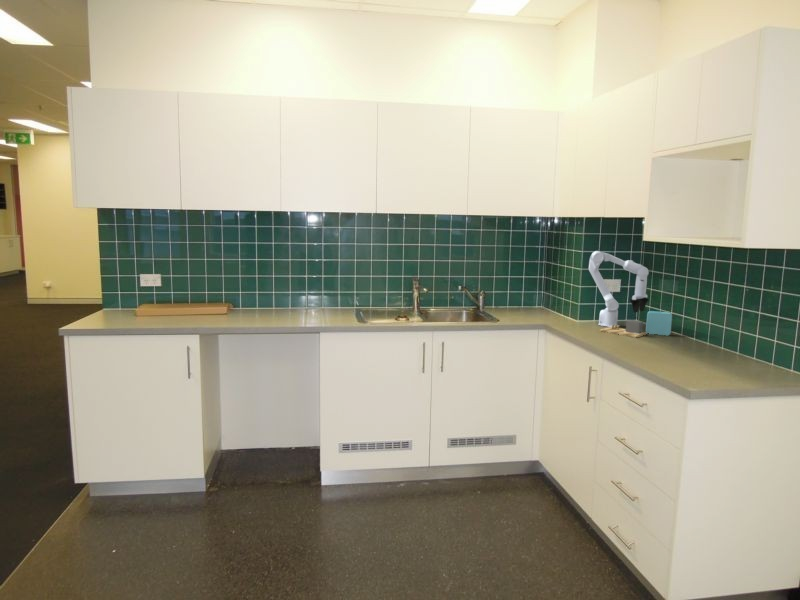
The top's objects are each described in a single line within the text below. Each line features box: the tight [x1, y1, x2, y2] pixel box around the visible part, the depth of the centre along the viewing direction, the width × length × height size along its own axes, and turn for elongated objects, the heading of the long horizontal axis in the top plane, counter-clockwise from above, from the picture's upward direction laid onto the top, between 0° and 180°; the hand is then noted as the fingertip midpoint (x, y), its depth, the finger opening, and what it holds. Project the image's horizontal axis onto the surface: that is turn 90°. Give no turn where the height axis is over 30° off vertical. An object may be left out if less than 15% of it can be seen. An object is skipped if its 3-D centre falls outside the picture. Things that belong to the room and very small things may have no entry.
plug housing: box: [625, 319, 643, 334], centre depth 290 cm, size 7×4×6 cm, turn 42°
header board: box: [599, 324, 648, 338], centre depth 293 cm, size 20×13×3 cm, turn 42°
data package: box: [645, 310, 673, 337], centre depth 292 cm, size 12×4×12 cm, turn 66°
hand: (638, 311), depth 308 cm, fingers open, 7 cm apart
